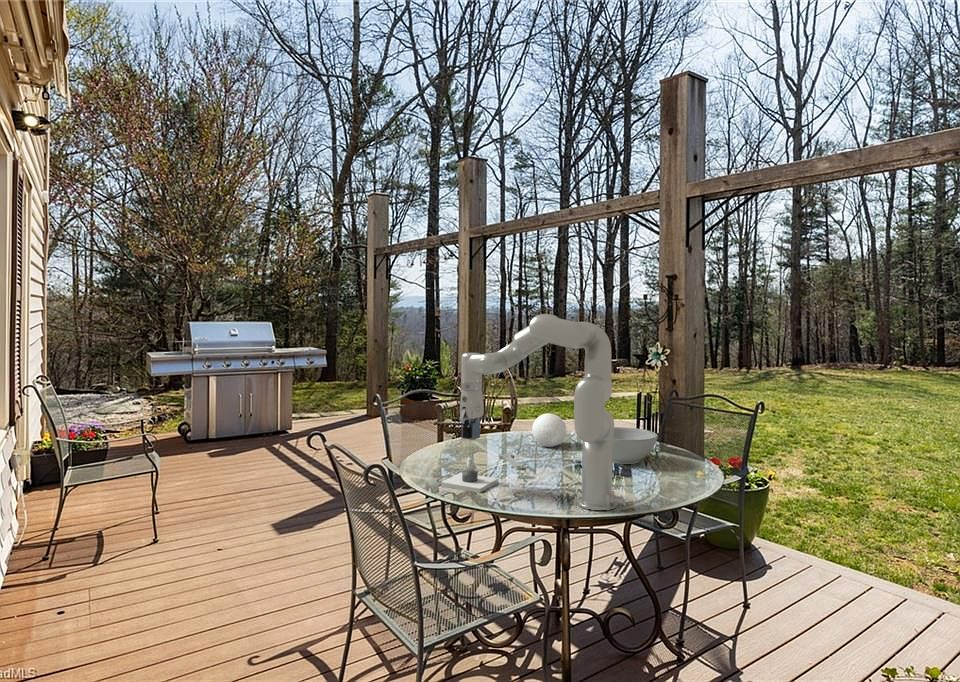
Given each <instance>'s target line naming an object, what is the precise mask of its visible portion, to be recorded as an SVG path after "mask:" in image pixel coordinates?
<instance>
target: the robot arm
mask: <svg viewBox="0 0 960 682" xmlns="http://www.w3.org/2000/svg"><path fill="white" fill-rule="evenodd" d="M547 344H551V345H556V346H559V347H564V348H568V349H576V350H578V349H584V350H585V354H584V355H585V357H584V377H583V378H582V379H581V380H580V381H578V383H577V384H576V386H575V389H574V397H573V400H574V401H573V402H574V404H573V406H574V407H573V412H574V414H573V415H574V416H573V417H574V418H573V424H574V425H573V426H574V430H575V434H576V435H577V437H578V438H579V439H580V440H581V441H582V449H581V450H582V451H581V452H582V453H581V454H582V455H581V459H582V460H581V463H582V464H581V496H580V497H577V499H576V505H577V506H578V507H580V508H582V509H585V510H588V509H591V510H590V511H594V510H607V511H611V510H610V509H612V510H614V509H616V507H617V505H623V506H624V505H625V503H626V499H625V498H624V497H623V496H619V495H616V494H615V490H613V486H612V485H613V462H612V447H613V435H614V427H615V421H614V420H615V419H614V417H613V415H612V414H611V413H610V411H609V410H607V409H605V408H606V405H605V404H606V402H608V401H609V400H610V398H611V396H612V393H613V392H612V391H613V387H612V386H613V385H612V382H613V381H612V376H613V375H612V374H613V373H612V370H613V369H612V346H611V341H610V338H609V337H608V334H607V333H606V332H605V331H604V330H603V329H602V328H601V327H600V326H598V325H596V324H594V323H591V322H590V321H589V322H588V321H573V320H569V319H563V318H559V316H557V315H554V314H551V313H549V314H548V313H541V314H537V315H535V316H534V317H532V319H531V320H530V322H529V325H527V326H526V327H524V328H523V329H521V330H520V331H517V332H515V334H514V336H513V340H512V341H511V342H510V343H509V344H507V345H506V346H505V347H503V348H501V349H500V350H498V351H496V352H488V353H479V352H464V353H462V355H461V365H460V366H461V369H460V370H461V375H460V376H461V380H460V381H461V382H460V384H461V385H460V389H461V390H460V391H461V394H460V402H459V403H460V404H459V415H460V416H459V421H460V422H461V428H462V427H463V438H469V439H470V438H471V427H470V425H471V420H472V419H473V420H476V419H478V421H480V422H481V418H482V417H483V416H484V413H485V410H484V408H485V407H484V395H483V389H482V388H483V385H482V384H483V375H485V376H487V375H490V376H491V375H494V374H499V373H504V372H505V371H507V370H508V369H510V368H511V367H514V366H516V365H517V364H518V363H520V362H522V361H523V360H524V359H525V358H527V357H528V356H530V355H531V354H532V353H534V352H535V351H537V350H539V349H540V348H543V347H544V346H546V345H547ZM466 420H468V422H467V421H466ZM469 439H468V440H469Z"/></svg>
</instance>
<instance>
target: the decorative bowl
mask: <svg viewBox="0 0 960 682" xmlns="http://www.w3.org/2000/svg"><path fill="white" fill-rule="evenodd" d="M658 438H659V437H658V434H657V433H656V432H654V431H651V430H648V429H644V428H643V429H642V428H636V427H626V426H625V427H623V426H621V427H620V426H614V435H613V447H612V464H618V465H624V464H633V465H636V464H635V463H638V462H639V461H641V460H643V459H644V458H646V457H648V455H650V454H651V452H652V451H653V450H654V449H655V448H654V447H655V445H656V444H657V441H658ZM639 463H640V462H639ZM639 463H638V464H639Z"/></svg>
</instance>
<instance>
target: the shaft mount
mask: <svg viewBox="0 0 960 682" xmlns="http://www.w3.org/2000/svg"><path fill="white" fill-rule="evenodd" d="M498 483H499V478H498V477H490V476H484V475H478V471H477V470H474V460H473V458H472V457H468V458H467V459H466V470H462V472H460V473H458V474H455V475H452V476H451V477H449V478H447V479H444V480H442V481H440V486H441V487H445V488H450V489H456V490H462V491H465V492H471V493H472V492H473V493H478V494H480V493H482V492H483V491H484V492H485V491H486V490H488V489H489V488H491V487H493V486H494V485H496V484H498Z"/></svg>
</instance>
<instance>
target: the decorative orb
mask: <svg viewBox="0 0 960 682" xmlns="http://www.w3.org/2000/svg"><path fill="white" fill-rule="evenodd" d="M531 432H532V436H533V439H534V440H535V441H536V443H537V444H538V445H540V446H542V447H545V448H547V447H548V448H553V447H557V446H558V445H560V444H562V442H563V441H564V440H565V438H566V435H567V426H566V422H565V421H564V420H563V418H561V417H560V416H559V415H557V414H554V413H550V412H548V413H543V414H540V415H539V416H537V418H536V419H535V420H534V422H533V424H532V428H531Z"/></svg>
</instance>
